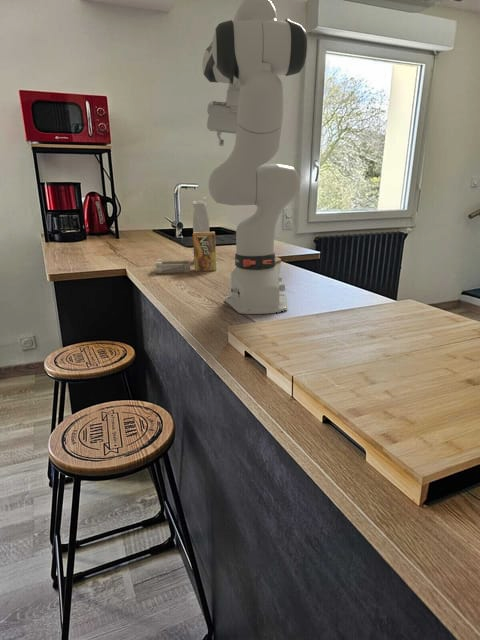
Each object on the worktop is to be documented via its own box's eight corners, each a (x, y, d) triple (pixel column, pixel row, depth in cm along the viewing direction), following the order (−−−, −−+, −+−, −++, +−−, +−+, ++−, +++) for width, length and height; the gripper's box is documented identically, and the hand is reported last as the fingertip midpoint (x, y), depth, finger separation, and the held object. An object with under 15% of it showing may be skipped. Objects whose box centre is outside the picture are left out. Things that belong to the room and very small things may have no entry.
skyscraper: (215, 261, 192) (213, 197, 183) (200, 263, 188) (196, 197, 179) (206, 258, 199) (203, 196, 190) (191, 260, 194) (187, 197, 186)
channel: (190, 273, 168) (189, 262, 167) (156, 274, 167) (155, 263, 165) (190, 268, 178) (189, 257, 176) (158, 269, 176) (157, 258, 175)
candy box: (216, 268, 176) (215, 231, 171) (216, 270, 172) (214, 232, 167) (195, 269, 175) (193, 231, 171) (194, 271, 171) (192, 233, 167)
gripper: (207, 97, 139) (204, 141, 142) (269, 104, 140) (264, 148, 143) (208, 103, 145) (205, 145, 148) (267, 110, 146) (262, 152, 149)
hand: (234, 147), depth 145 cm, fingers open, 8 cm apart
